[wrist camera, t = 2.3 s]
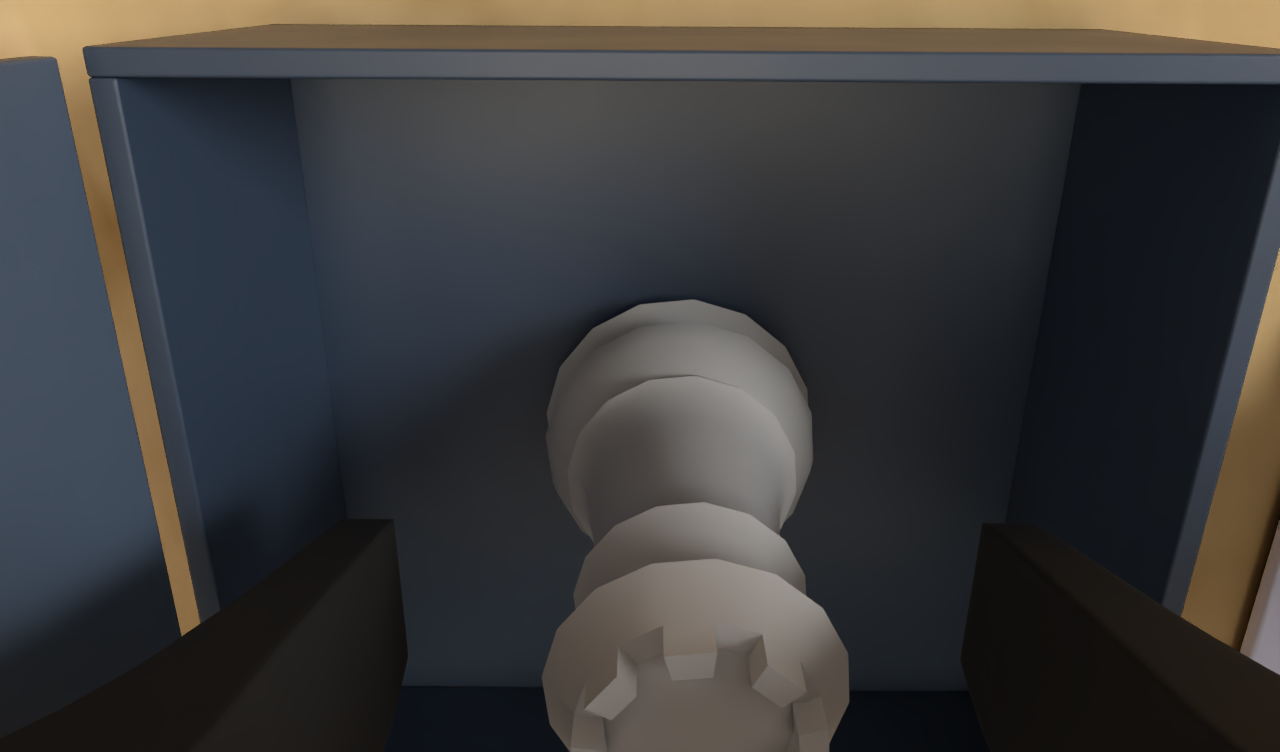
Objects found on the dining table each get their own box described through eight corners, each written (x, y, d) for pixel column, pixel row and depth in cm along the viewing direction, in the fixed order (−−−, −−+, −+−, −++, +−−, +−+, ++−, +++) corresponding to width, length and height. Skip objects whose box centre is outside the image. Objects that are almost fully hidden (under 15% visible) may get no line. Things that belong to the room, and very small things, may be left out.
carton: (359, 686, 19) (261, 925, 14) (271, 24, 15) (80, 46, 10) (983, 693, 19) (1097, 935, 14) (1101, 29, 14) (1332, 54, 10)
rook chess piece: (542, 512, 17) (463, 905, 10) (557, 277, 16) (475, 541, 8) (785, 534, 18) (884, 935, 10) (826, 302, 16) (982, 584, 8)
